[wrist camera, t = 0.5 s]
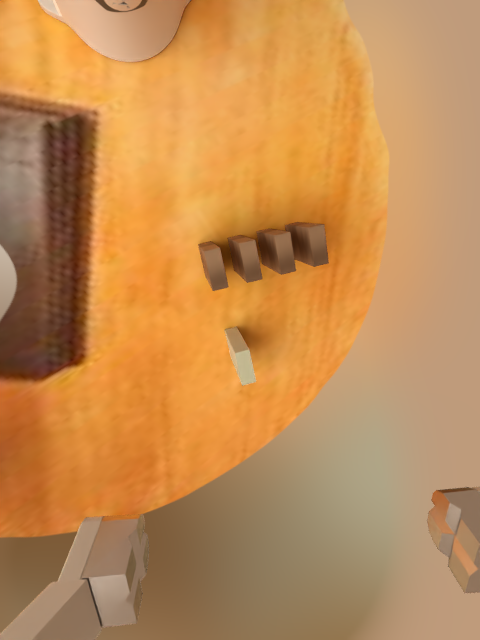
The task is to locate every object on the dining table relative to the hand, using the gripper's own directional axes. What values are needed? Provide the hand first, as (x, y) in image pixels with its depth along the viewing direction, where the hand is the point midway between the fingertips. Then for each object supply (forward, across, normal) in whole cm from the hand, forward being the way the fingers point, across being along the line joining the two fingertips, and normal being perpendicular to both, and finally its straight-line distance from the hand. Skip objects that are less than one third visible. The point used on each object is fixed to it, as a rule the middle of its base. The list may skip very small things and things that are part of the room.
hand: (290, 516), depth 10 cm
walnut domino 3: (+46, -5, 0) cm, 47 cm away
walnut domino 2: (+46, -1, +1) cm, 46 cm away
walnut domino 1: (+45, +4, +2) cm, 45 cm away
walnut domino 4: (+47, -10, 0) cm, 48 cm away
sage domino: (+45, 0, +16) cm, 47 cm away
